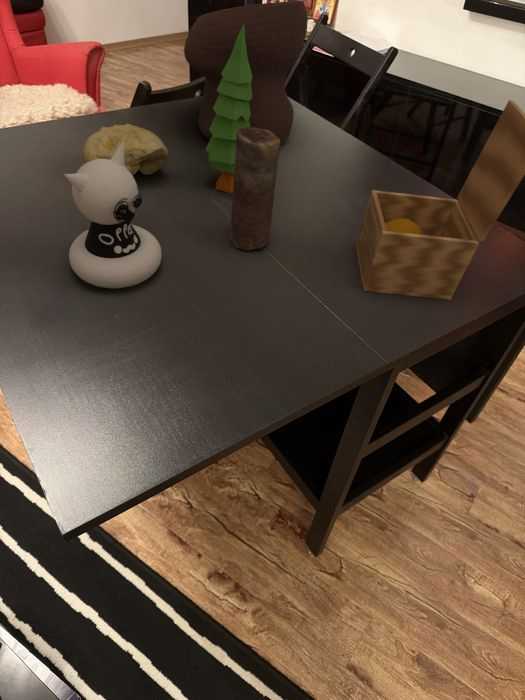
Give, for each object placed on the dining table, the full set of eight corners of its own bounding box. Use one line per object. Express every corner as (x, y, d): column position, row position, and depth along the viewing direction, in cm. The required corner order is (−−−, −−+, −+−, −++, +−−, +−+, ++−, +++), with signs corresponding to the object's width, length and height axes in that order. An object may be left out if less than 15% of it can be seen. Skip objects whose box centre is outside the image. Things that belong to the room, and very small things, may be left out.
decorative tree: (257, 189, 104) (274, 27, 82) (225, 202, 99) (233, 33, 77) (227, 171, 108) (236, 13, 86) (195, 182, 103) (195, 17, 81)
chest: (363, 291, 83) (382, 233, 75) (355, 246, 93) (371, 189, 84) (450, 299, 84) (479, 243, 75) (434, 254, 93) (458, 199, 85)
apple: (384, 204, 82) (434, 216, 82) (370, 224, 90) (414, 236, 91) (375, 250, 80) (425, 263, 81) (361, 266, 89) (406, 278, 89)
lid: (541, 137, 63) (547, 138, 63) (508, 99, 73) (513, 100, 73) (478, 240, 75) (483, 241, 75) (457, 196, 84) (461, 197, 85)
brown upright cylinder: (231, 227, 93) (238, 121, 78) (269, 231, 93) (282, 126, 78) (228, 250, 87) (234, 141, 73) (268, 254, 88) (282, 146, 73)
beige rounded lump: (107, 166, 109) (69, 181, 97) (106, 114, 103) (65, 123, 91) (176, 182, 107) (147, 199, 95) (179, 130, 101) (148, 142, 89)
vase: (299, 121, 132) (319, -13, 110) (279, 163, 113) (299, 11, 92) (205, 102, 134) (207, -32, 112) (171, 140, 116) (165, -12, 94)
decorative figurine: (108, 307, 74) (87, 187, 59) (53, 264, 80) (22, 145, 65) (180, 268, 82) (177, 154, 68) (125, 231, 88) (112, 119, 74)
